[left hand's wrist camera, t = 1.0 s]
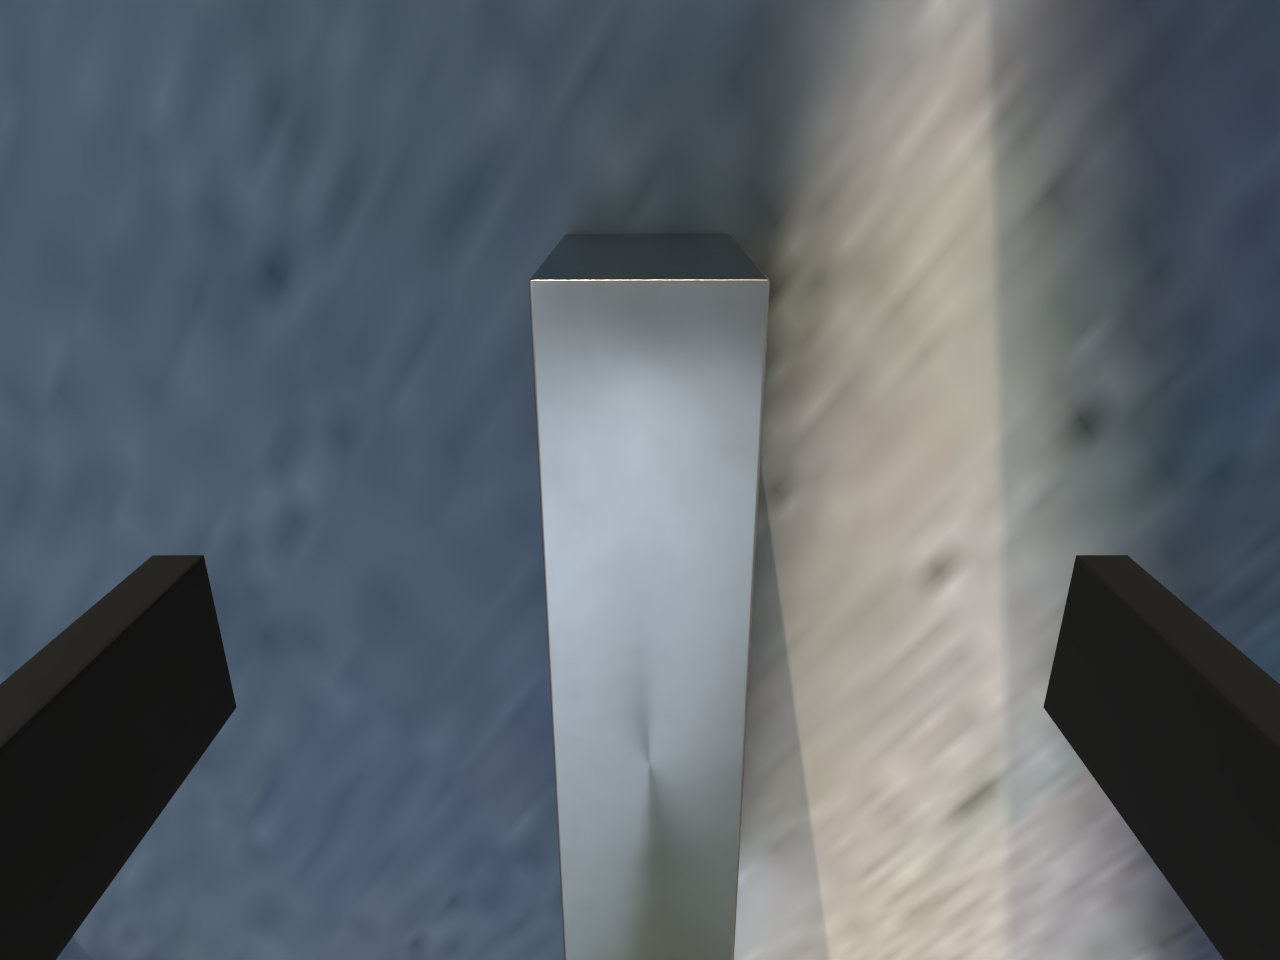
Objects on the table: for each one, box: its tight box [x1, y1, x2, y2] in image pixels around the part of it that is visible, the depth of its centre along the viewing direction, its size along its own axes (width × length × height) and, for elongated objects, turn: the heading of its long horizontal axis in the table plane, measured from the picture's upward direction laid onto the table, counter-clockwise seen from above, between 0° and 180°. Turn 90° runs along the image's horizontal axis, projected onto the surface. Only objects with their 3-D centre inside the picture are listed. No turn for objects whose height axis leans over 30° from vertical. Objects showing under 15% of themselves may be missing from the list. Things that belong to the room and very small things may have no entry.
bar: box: [529, 234, 770, 960], centre depth 25 cm, size 24×5×8 cm, turn 0°
